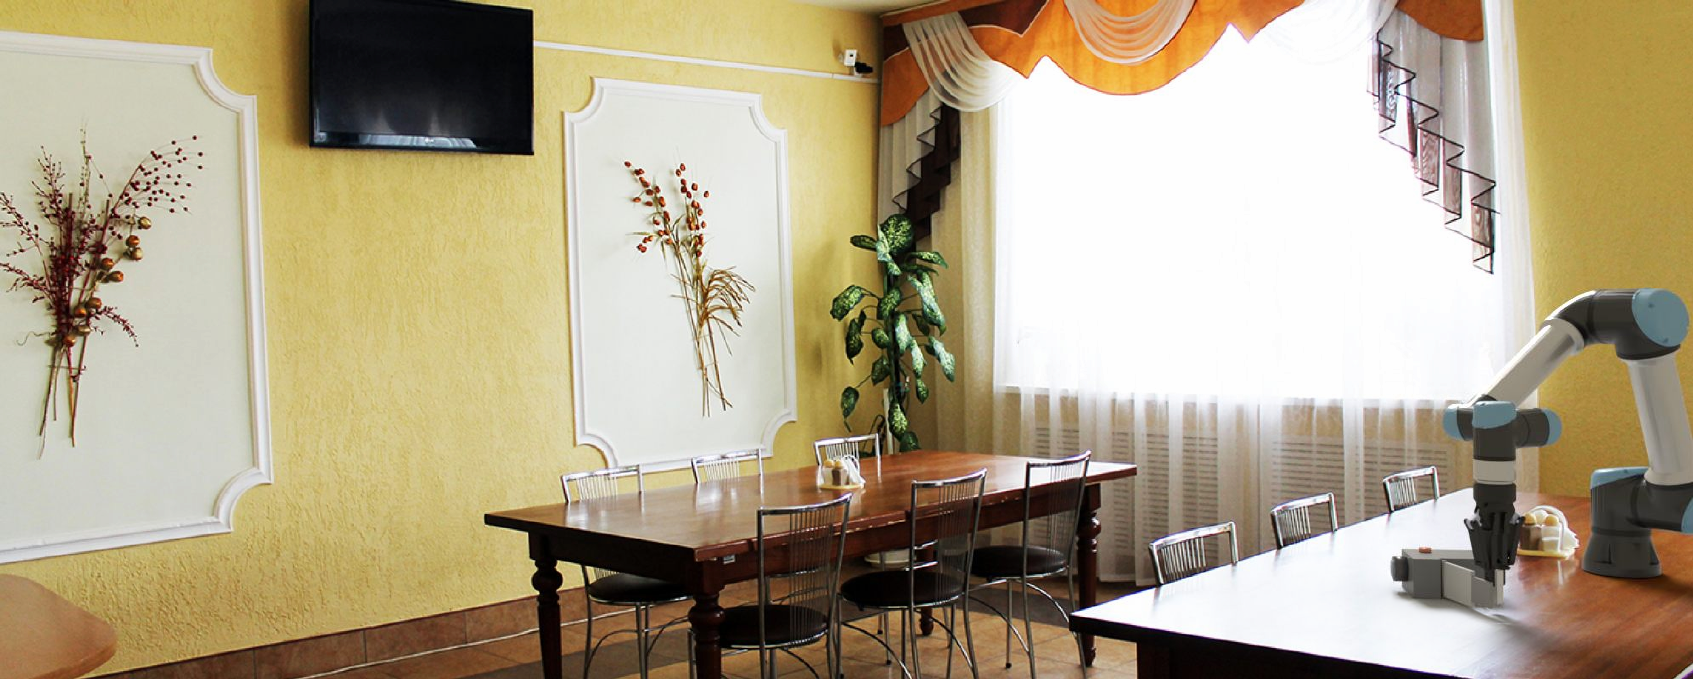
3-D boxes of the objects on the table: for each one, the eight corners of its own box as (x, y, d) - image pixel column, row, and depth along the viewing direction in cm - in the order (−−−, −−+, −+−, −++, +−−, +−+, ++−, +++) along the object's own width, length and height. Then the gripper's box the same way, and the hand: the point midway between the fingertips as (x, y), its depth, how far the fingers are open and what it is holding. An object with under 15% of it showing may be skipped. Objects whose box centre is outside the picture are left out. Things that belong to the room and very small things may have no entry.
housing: (1482, 588, 278) (1482, 546, 278) (1498, 599, 267) (1497, 556, 267) (1388, 585, 282) (1388, 544, 282) (1399, 597, 271) (1399, 554, 271)
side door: (1493, 615, 254) (1493, 576, 254) (1488, 615, 254) (1488, 576, 253) (1445, 596, 270) (1445, 559, 270) (1440, 596, 270) (1440, 560, 270)
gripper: (1506, 476, 262) (1507, 595, 262) (1452, 480, 258) (1453, 601, 259) (1536, 481, 254) (1537, 603, 255) (1481, 485, 251) (1482, 609, 251)
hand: (1495, 602), depth 257 cm, fingers closed
